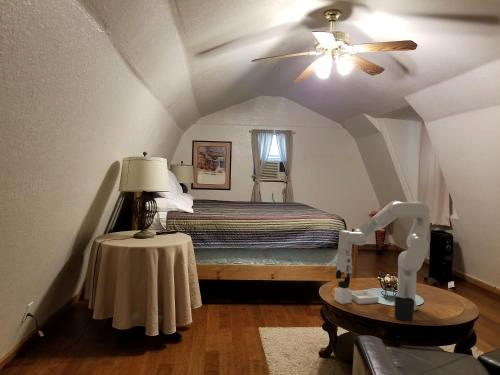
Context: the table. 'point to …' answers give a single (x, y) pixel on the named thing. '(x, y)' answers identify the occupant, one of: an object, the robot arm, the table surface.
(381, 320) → the table surface
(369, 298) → the tray
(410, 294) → the robot arm
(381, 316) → the table surface
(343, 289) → the medicine bottle
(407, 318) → the pen holder
